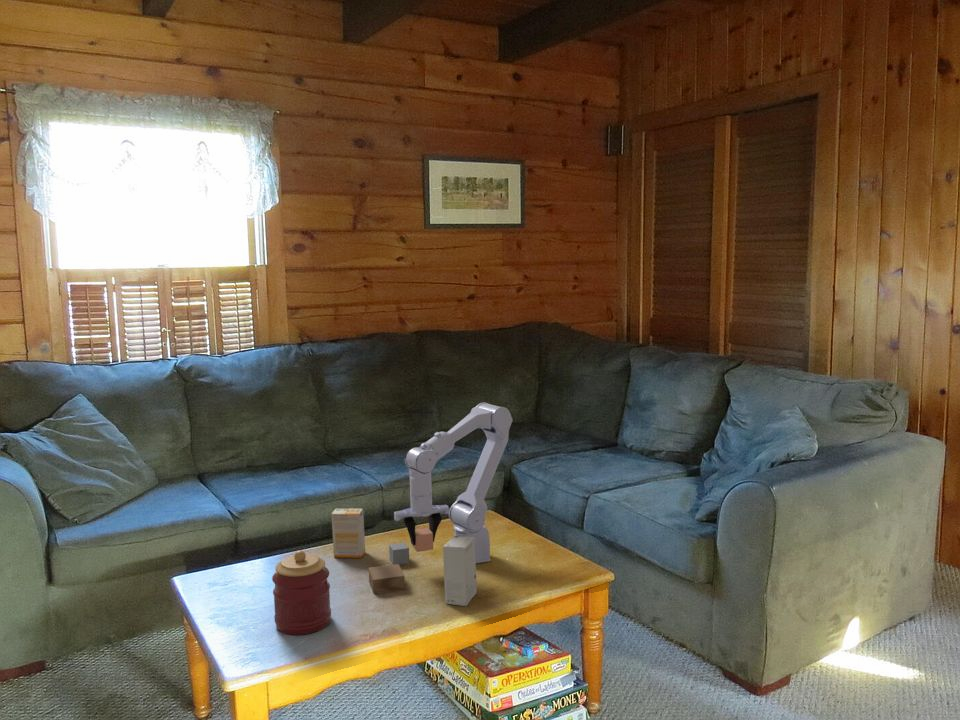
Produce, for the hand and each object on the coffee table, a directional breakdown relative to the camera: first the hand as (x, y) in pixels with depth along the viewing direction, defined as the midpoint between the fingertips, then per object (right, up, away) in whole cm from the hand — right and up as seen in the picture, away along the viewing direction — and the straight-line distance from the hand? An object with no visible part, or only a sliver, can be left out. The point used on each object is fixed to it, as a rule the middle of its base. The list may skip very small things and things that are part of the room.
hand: (422, 542), depth 215 cm
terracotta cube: (0, -1, 0) cm, 2 cm away
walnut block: (-9, -10, -6) cm, 15 cm away
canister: (-26, -13, -26) cm, 39 cm away
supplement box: (-22, -7, +14) cm, 27 cm away
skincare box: (+10, -11, -15) cm, 21 cm away
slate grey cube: (-7, -7, +9) cm, 14 cm away
